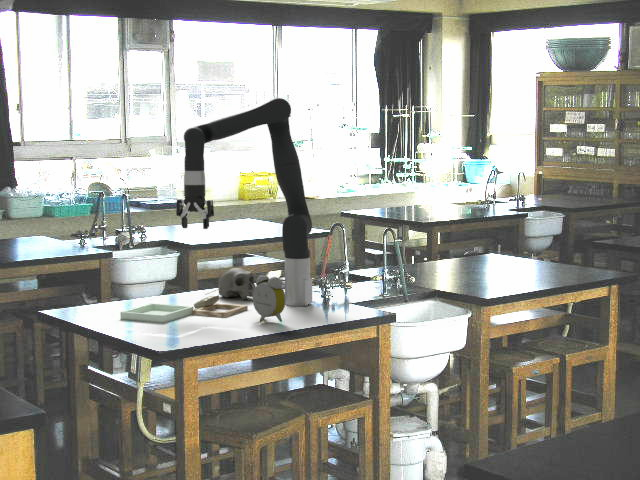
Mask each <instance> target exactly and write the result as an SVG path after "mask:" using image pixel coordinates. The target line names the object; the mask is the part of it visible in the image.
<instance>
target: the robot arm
mask: <svg viewBox="0 0 640 480" xmlns="http://www.w3.org/2000/svg"><path fill="white" fill-rule="evenodd" d="M291 114H292V105H291V104H290V103H289V102H288V101H287V100H286V99H285V98H281V97H275V98H273V99H270V100H269V101H267V102H266V103H263V104H262V105H260V106H257V107H255V108H252V109H249V110H246V111H244V112H243V111H242V112H239V113H235V114H231V115H228V116H225V117H221V118H218V119H215V120H212V121H210V122H208V123H204V124H200V125H197V126H193V127H189V128H188V129H186V130H185V132H184V134H183V141H184V148H185V149H184V151H185V157H184V175H183V191H184V192H183V195H184V199H183V198H179V199H177V200H176V211H175V213H176V214H175V215H176V216H177V217H179V218H180V219H181V227H182V228H183V229H188V216H189V214H190V213H191V212H195V213H199V214H201V216H202V217H203V219H202V224H203V225H202V226H203V227H202V229H203V230H208V229H209V227H210V218H212V217H214V216H215V209H214V200H213V199H207V200H206V174H205V173H206V172H205V157H204V153H205V144H207V143H210V142H212V141H219V140H222V139H226V138H229V137H233V136H235V135H237V134H241V133H243V132H245V131H248V130H250V129H253V128H255V127H259V126H263V125H267V129H268V131H269V135H270V140H271V151H272V152H271V153H272V160H273V166H274V171H275V172H274V173H275V178H276V180H277V184H278V186H279V188H280V191H281V192H282V195H283V197H284V199H285V201H286V207H287V215H288V216H287V217H285V218H284V220H283V223H282V228H281V229H282V230H281V231H282V234H281V235H282V250H283V253H284V293H285V297H286V304H285V306H289V307H290V306H291V307H292V306H293V307H303V306H304V307H306V306H309V305H312V304H313V278H312V277H311V252H310V249H309V246H308V235H310V233H311V231H312V228H313V222H312V219H311V217H312V216H311V215H310V212H309V208H308V204H307V199H306V195H305V188H304V182H303V177H302V170H301V163H300V160H299V155H298V152H297V150H296V146H295V145H294V142H293V140H292V139H293V138H292V135H291V131H290V119H289V118H290V116H291ZM205 205H206V207H205ZM206 208H207V209H206ZM311 303H312V304H311ZM308 304H309V305H308Z"/></svg>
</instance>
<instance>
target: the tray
mask: <svg viewBox="0 0 640 480" xmlns="http://www.w3.org/2000/svg"><path fill="white" fill-rule="evenodd" d="M192 310H194V306H191V305H179V304H178V305H177V304H166V303H165V304H164V303H154V302H153V303H148V304H144V305H141V306H138V307H134V308H131V309H127V310H122V311H120V312H119V313H120V320H124V321H133V322H134V321H135V322H136V321H137V322H147V323H148V322H149V323H157V324H165V323H168V322H171V321H175V320H177V319H181V318H184V317H187V316H191V315H192Z"/></svg>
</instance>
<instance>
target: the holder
mask: <svg viewBox="0 0 640 480" xmlns="http://www.w3.org/2000/svg"><path fill="white" fill-rule="evenodd" d="M248 307H249V306H248V305H243V304H231V303H230V304H229V303H219V302H216V303H215V304H213V305H210V306H205V307H201V308H198V309H196V308H195V309H193V310H192V314H191V315H193V316H194V315H195V316H204V317H205V316H206V317H216V318H217V317H219V318H228V317H231V316H233V315H236V314H240V313H243V312H245V311H247V310H249V309H248ZM216 309H222V310H223V309H224V310H225V311H218V310H217V311H216Z"/></svg>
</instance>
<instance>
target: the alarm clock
mask: <svg viewBox="0 0 640 480" xmlns="http://www.w3.org/2000/svg"><path fill="white" fill-rule="evenodd" d="M255 286H256V287H255V289H254V292H253V297H252V305H253V307H254V309H255V311H256V313H257V314H258V315H260V318H259V322H260V323H261V322H262V321H264V319H265V318H270V317H276V318H277V319H278V321H279V322H280V323H281V322H283V320H282V317H281V314H282V312H284V309H285V307H286V305H285V304H286V297H285V289H284V288H283V287H282V286H283V283H282V280H281V278H279V277H277V276H272V277H269V276H268V275H265V274H263V275H262V274H260V275H259V276H258V277H257V278H256V280H255Z"/></svg>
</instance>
